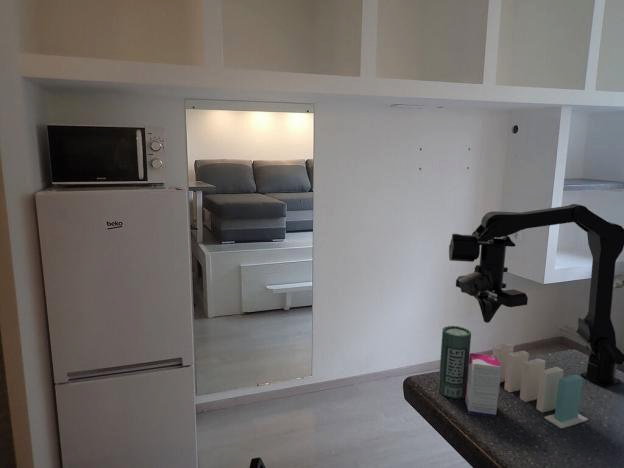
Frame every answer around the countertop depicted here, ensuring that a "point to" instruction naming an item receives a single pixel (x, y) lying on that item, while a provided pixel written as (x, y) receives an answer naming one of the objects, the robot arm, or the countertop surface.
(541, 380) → the domino
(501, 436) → the countertop surface
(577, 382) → the end domino
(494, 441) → the countertop surface
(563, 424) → the pad
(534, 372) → the domino
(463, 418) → the countertop surface
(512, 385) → the domino
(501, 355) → the domino
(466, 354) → the can
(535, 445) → the countertop surface
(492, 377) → the supplement box
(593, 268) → the robot arm
